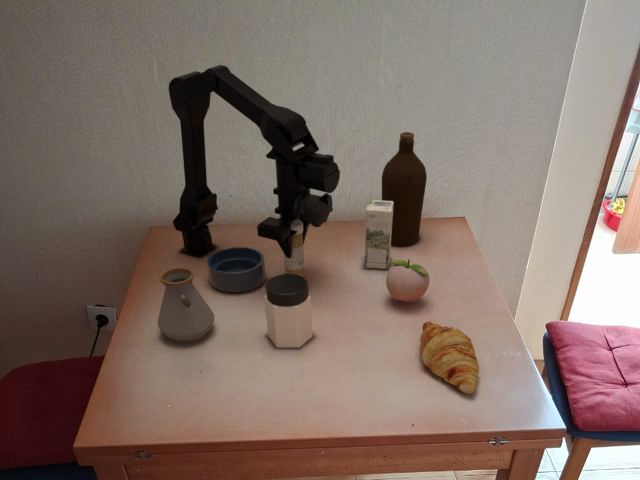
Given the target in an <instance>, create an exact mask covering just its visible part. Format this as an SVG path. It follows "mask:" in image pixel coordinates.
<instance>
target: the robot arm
mask: <svg viewBox="0 0 640 480" xmlns="http://www.w3.org/2000/svg"><path fill="white" fill-rule="evenodd" d="M212 93H214V94H216V96H218V97H220V98H221V99H222V100H223V101H225V102H226V103H227V104H229V105H230V106H231V107H233V108H234V109H235V110H237V111H238V112H239V113H240V114H241V115H243V116H244V117H245V118H247V119H248V120H249V121H251V122H252V123H253V124H255V125H256V126H257V128H258V129H259V130H260V134H261V136H262V138H263V139H264V140H265V141H266V142H267V143H268V144H269V145H270V146H271V147H272V148H271V149H270V150H269V151H268V152H267V154H265V157H266V158H267V159H269V160H274V162H275V174H276V175H275V176H276V186H275V187H274V188H273V189H272V192H273V195H276V196H277V205H278V206H276V207H275V208H274V214H276V215H279V216H280V217H278V218H276V217H274V216H273V217H272V216H268V217H266V218H265V219H263V220H262V221H260V222H259V224H257V226H256V230H257V236H258V237H261V238H264V239H268V240H273V241H276V243H277V244H278V245H279V247H280V249H281V251H282V253H283V255H284V254H285V256H286V257H287V258H291V256H292V238H293V236H294V235H295V234H296V233H297V232H298V231H294V230H293V222H295V221H296V220H301V221H302V222H303V246H304V245H305V241H306V237H307V234H308V230H309V227H310V226H312V227H314V228H320V227H321V226H322V225H323V224H324V223H327V222H328V219H329V216H330V213H332V212H333V211H334V208H333V206H334V205H333V196H332V195H331V194H332V193H334V192H335V190H336V189H337V187H338V185H339V182H340V179H341V178H340V177H341V170H340V169H339V165H338V163H337V162H335V157H334V155H333V154H323V153H318V152H319V151H320V147H319V146H318V144H317V142H316V140H315V138H314V136H313V135H312V133H311V131H310V129H309V128H308V126H307V121H306V119H305V118H304V117H303V115H302V114H300V113H298V112H296V111H294V110H293V109H291V108H288V107H284V106H281V105H276V104H274V103H272V102H271V101H269V100H268V99H267V98H265V97H264V96H263V95H261V94H260V93H258V91H256V90H255V89H254V88H252V87H251V86H249V85H248V84H247V83H246V82H244V81H243V80H242V79H240V77H238V76H236V75H235V74H234V73H233V72H231V70H230V69H229V68H228V67H227V66H226V65H223V64H217V65H215V66H212V67H208V68H207V69H205V70H204V71H199V70H195V71H191V72H188V73H185V74H181V75H179V76H176V77H174V78H172V79H171V80H170V81H169V83H168V95H169V100H170V104H171V108H172V110H173V112H174V114H175V115H176V116H177V118H178V119H179V123H180V135H181V146H182V147H181V150H182V159H183V160H182V161H183V172H184V183H185V184H184V188H183V190H182V192H181V195H180V197H179V212H178V214H177V215H176V216H175V217H174V219H173V220H172V224H173V227H174V228H175V231H177V232H180V233H181V235H182V241H183V247H182V248H181V249H180V252H181V253H184V254H188V255H192V256H195V257H199V258H201V257H204V256H205V255H206V254H207V253H209V252H211V251H212V250H214V249H215V248H216V247H217V246H216V244H214V243H213V239H212V232H211V231H210V227H209V226H210V225H209V224H210V223H212V222H214V217H215V215H216V213H217V211H218V210H219V207H218V195H217V193H215V192H213V191H212V190H211V189H210V187H209V185H208V176H207V159H206V158H207V157H206V137H205V118H206V116H207V114H208V111H209V109H210V106H211V97H212V96H211V95H212ZM300 145H303V146H301V147H298V146H300ZM296 147H298V148H297V149H295V150H294V148H296ZM311 190H315V191H319V192H323V195H317V194H314V193H313V194H312V193H311Z"/></svg>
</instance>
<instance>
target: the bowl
mask: <svg viewBox="0 0 640 480" xmlns="http://www.w3.org/2000/svg"><path fill="white" fill-rule="evenodd" d="M265 265H266V263H265V255H264V254H263V252H261V251H260V250H258V249H256V248H253V247H249V246H230V247H225V248H222V249H220V250H215V252H213V253H212V254H210V255H209V257H208V258H207V260H206V267H207V272H208V279H209V283H210V284H211V286H212V287H213V288H215V289H216V290H219V291H222V292H227V293H243V292H247V291H251V290H253V289H256V288H258V287H260V286H261V285H262V284H263V283H265V280H266V279H267V275H266V266H265Z"/></svg>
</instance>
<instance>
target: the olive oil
mask: <svg viewBox="0 0 640 480" xmlns="http://www.w3.org/2000/svg"><path fill="white" fill-rule="evenodd" d="M414 139H415V134H414V133H413V132H409V131H405V132H401V133H400V134H399V140H398V151H397V152H396V153H395V154H394V156H392V158H390V160H388V162H387V163H386V164H385V165H384V168H383V170H382V174H381V201H393V202H394V206H393V221H392V234H391V246H393V247H408V246H411V245H414V244H416V243H417V242H418V241H419V238H420V231H421V221H422V213H423V207H424V200H425V193H426V186H427V180H428V179H427V178H428V177H427V175H428V174H427V170H426V166H425V165H424V163H423V161H422V160H421V159H420V158H419V157H418V156H417V155H416V153H415V151H414V146H415V140H414Z"/></svg>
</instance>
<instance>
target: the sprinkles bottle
mask: <svg viewBox="0 0 640 480" xmlns="http://www.w3.org/2000/svg"><path fill="white" fill-rule="evenodd" d="M293 230H294V231H298V232H297V233H296V234H295V235H294V236H293V238H292V256H291V258H287V257H286V256H285V254H284V253H283V259H284V260H283V261H284V270H285V271H284V272H285V273H284V274H295V275H299V276H302V277H303V278H305V250H304V245H303V222H302V221H301V220H296V221H295V222H293ZM305 279H306V278H305Z"/></svg>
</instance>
